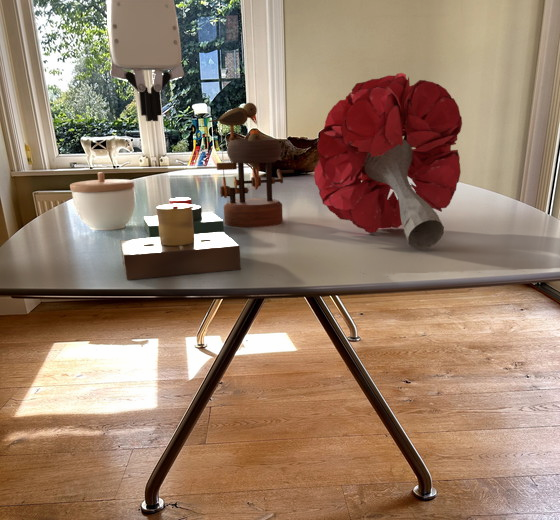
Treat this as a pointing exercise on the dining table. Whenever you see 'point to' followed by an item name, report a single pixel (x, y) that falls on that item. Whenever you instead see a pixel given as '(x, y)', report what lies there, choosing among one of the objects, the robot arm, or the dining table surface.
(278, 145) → the wooden bird automaton
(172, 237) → the golden brown short cylinder
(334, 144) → the bouquet
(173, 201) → the button
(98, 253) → the dining table surface
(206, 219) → the button block
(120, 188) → the trinket box
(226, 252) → the panel
